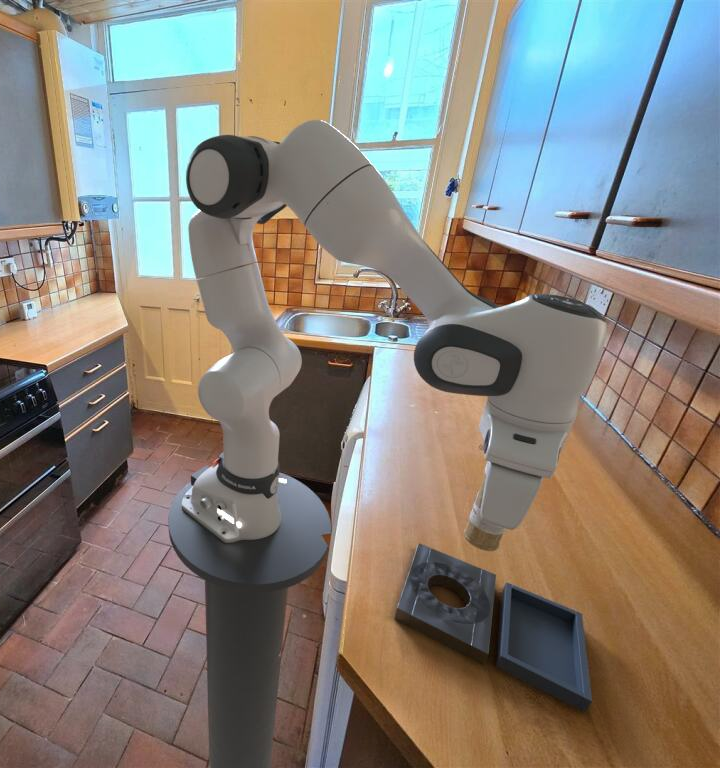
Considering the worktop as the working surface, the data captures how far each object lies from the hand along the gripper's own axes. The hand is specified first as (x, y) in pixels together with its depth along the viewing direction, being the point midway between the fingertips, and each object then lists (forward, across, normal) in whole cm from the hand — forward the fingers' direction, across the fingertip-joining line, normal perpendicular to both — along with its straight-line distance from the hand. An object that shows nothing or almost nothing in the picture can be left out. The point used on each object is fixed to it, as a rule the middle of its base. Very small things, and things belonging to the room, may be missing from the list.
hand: (491, 510), depth 57 cm
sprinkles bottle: (+6, 0, 0) cm, 6 cm away
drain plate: (+20, 0, -2) cm, 20 cm away
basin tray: (+20, 0, +10) cm, 23 cm away
